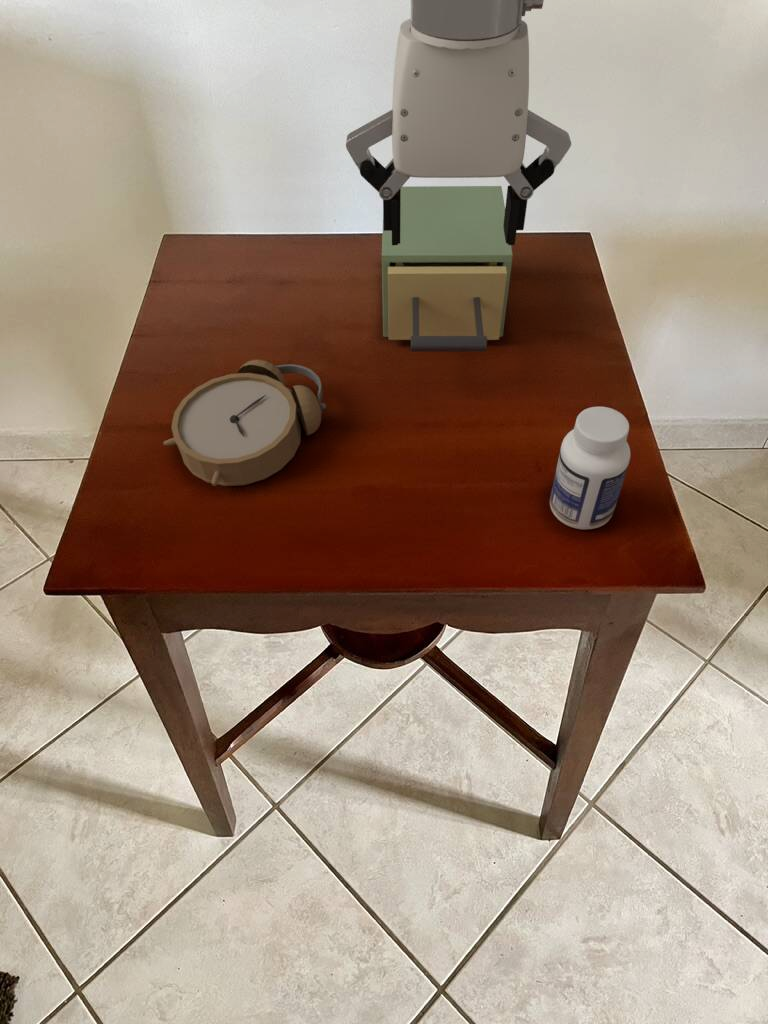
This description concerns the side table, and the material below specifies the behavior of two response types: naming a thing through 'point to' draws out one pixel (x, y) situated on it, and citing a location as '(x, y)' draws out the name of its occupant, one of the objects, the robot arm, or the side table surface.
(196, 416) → the alarm clock
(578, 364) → the side table surface
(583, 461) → the pill bottle
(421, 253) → the cabinet
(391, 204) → the robot arm
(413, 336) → the drawer
